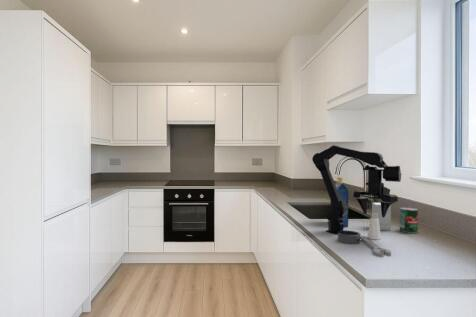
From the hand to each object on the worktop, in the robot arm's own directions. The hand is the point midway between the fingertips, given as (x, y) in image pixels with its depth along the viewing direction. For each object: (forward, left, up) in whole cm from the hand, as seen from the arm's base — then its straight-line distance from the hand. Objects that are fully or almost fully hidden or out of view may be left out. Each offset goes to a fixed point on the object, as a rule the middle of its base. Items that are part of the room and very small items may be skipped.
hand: (374, 215), depth 139 cm
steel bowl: (-2, -14, -10) cm, 17 cm away
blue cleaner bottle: (-27, +8, -10) cm, 30 cm away
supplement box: (-10, +19, -10) cm, 24 cm away
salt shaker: (0, 0, -10) cm, 10 cm away
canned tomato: (0, +26, -10) cm, 28 cm away
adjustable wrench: (+9, -12, -11) cm, 18 cm away
